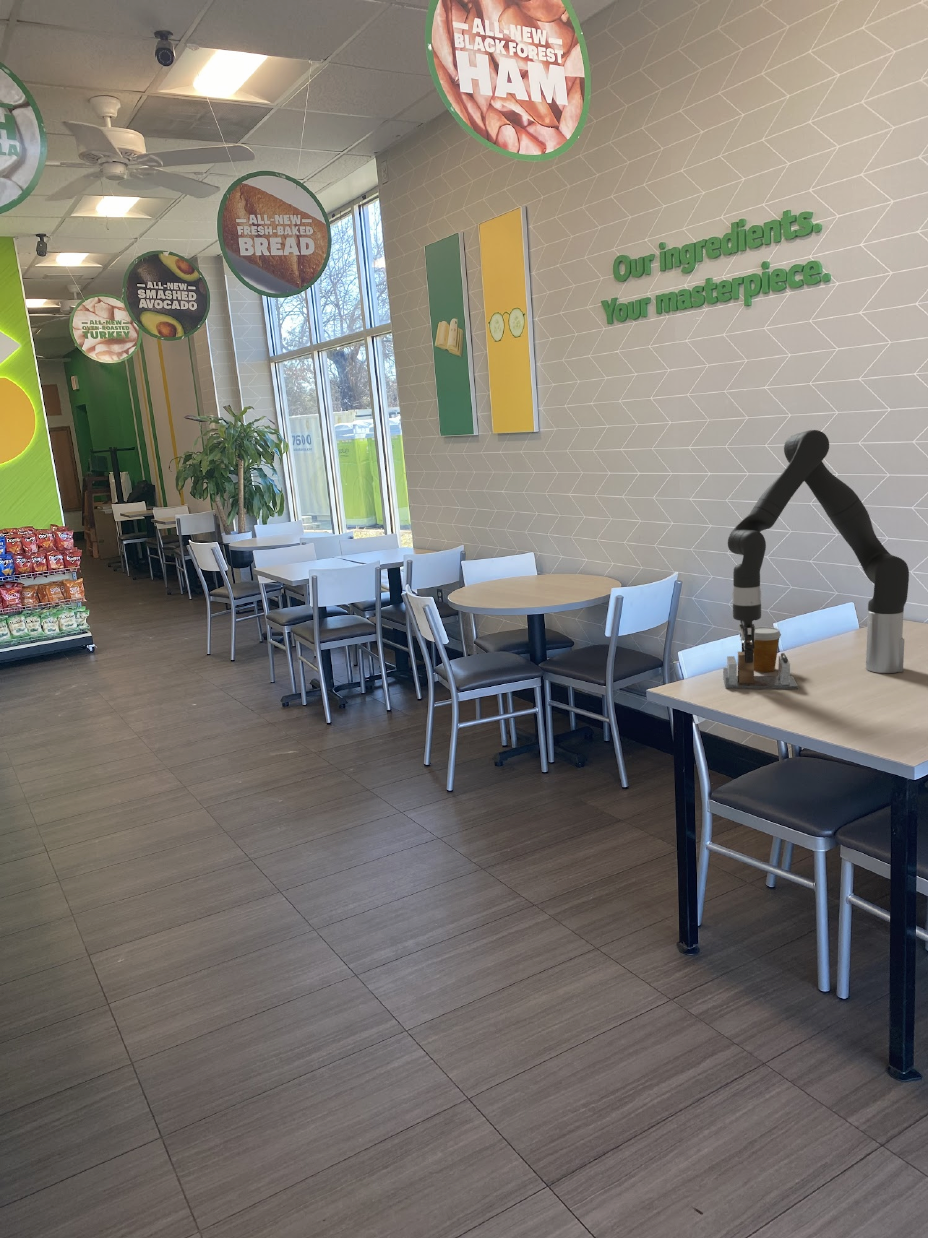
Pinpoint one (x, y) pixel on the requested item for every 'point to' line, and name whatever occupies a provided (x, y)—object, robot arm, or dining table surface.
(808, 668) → the dining table surface
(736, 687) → the vise bed
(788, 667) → the block
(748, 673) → the walnut block
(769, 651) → the disposable coffee cup
